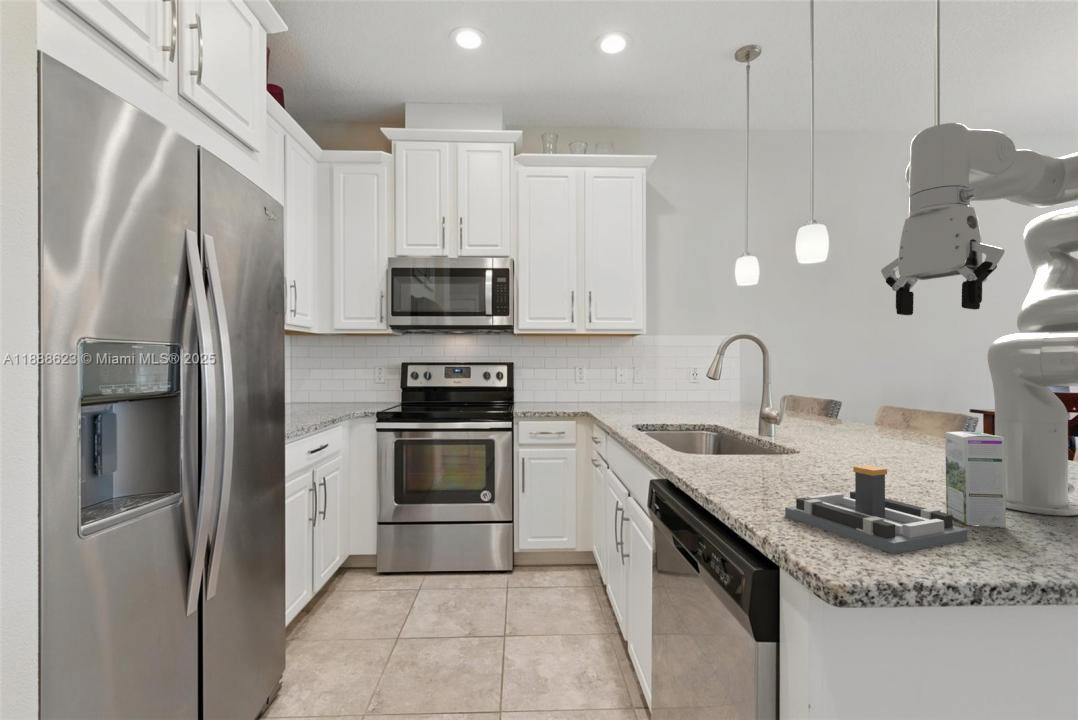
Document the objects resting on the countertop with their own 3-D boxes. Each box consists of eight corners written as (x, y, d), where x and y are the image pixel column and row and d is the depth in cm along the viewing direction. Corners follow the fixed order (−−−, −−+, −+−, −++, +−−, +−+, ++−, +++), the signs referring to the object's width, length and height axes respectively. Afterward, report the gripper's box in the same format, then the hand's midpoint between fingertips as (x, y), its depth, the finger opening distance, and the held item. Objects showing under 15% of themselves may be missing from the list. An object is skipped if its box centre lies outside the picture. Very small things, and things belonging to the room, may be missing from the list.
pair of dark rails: (858, 501, 89) (858, 489, 89) (954, 526, 75) (954, 513, 75) (794, 509, 84) (794, 497, 84) (884, 539, 70) (884, 524, 70)
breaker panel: (852, 507, 91) (852, 489, 91) (967, 539, 74) (967, 518, 74) (785, 516, 85) (785, 498, 85) (893, 554, 68) (893, 531, 68)
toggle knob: (867, 512, 81) (867, 465, 81) (887, 517, 78) (887, 469, 78) (853, 514, 80) (853, 466, 80) (872, 519, 77) (872, 470, 77)
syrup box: (1008, 528, 79) (1007, 436, 79) (964, 526, 80) (964, 435, 80) (983, 517, 85) (983, 431, 85) (943, 515, 86) (943, 430, 86)
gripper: (1018, 192, 74) (1017, 308, 74) (899, 223, 90) (897, 318, 90) (986, 184, 71) (984, 303, 71) (869, 217, 88) (867, 315, 87)
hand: (935, 311), depth 80 cm, fingers open, 9 cm apart
